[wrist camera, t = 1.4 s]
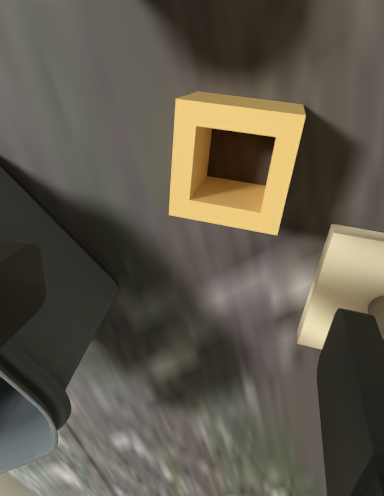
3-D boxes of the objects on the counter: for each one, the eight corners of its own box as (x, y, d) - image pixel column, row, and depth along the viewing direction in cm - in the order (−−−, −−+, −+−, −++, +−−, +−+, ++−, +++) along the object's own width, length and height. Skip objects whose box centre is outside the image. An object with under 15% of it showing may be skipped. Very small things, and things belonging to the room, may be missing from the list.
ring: (198, 91, 22) (175, 98, 18) (303, 104, 21) (306, 115, 17) (189, 189, 25) (168, 214, 21) (279, 204, 24) (277, 235, 20)
